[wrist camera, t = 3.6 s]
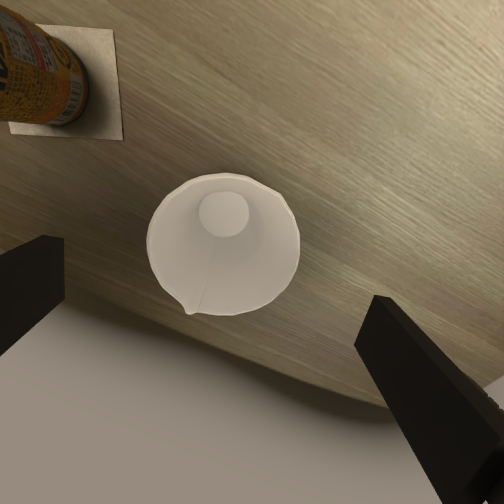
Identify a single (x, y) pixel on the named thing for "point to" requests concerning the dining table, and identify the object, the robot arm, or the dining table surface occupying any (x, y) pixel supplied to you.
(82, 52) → the condiment
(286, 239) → the cup
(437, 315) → the dining table surface
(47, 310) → the robot arm
